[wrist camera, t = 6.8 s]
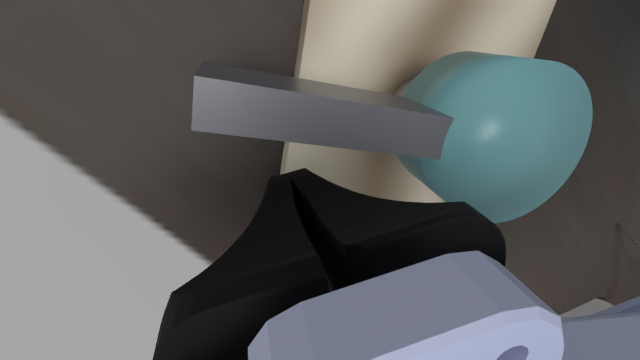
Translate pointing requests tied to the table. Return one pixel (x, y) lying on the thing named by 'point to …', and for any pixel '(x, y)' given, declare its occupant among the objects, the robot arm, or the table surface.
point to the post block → (397, 68)
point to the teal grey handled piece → (425, 123)
